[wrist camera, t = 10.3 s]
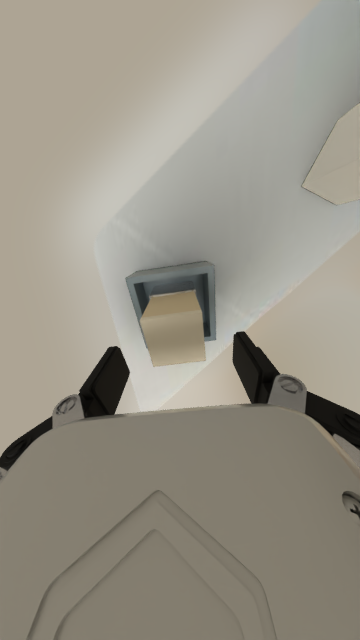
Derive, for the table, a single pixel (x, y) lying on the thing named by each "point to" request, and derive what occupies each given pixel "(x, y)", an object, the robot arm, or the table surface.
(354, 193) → the milk
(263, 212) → the table surface
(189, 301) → the beige cube
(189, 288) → the block
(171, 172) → the table surface
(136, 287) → the tote
